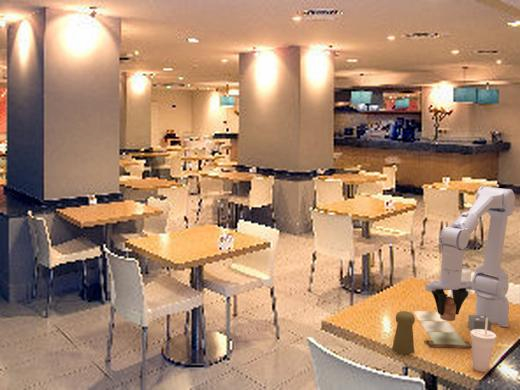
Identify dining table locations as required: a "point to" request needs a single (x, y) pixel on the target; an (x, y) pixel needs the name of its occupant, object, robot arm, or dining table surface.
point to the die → (478, 322)
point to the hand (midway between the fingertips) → (448, 313)
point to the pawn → (449, 310)
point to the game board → (435, 327)
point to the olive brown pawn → (404, 333)
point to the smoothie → (482, 347)
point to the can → (465, 276)
